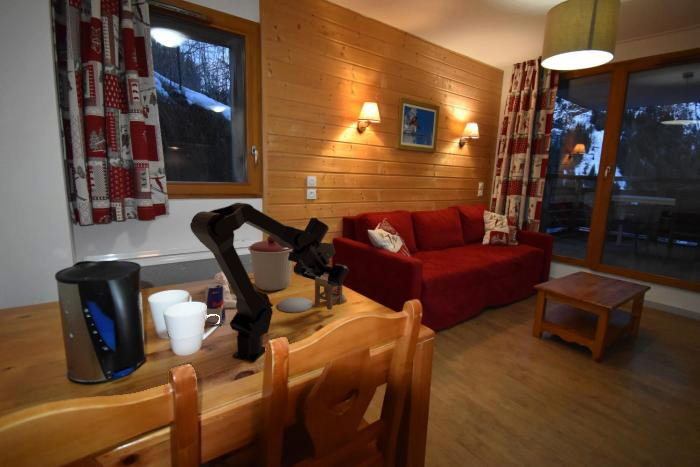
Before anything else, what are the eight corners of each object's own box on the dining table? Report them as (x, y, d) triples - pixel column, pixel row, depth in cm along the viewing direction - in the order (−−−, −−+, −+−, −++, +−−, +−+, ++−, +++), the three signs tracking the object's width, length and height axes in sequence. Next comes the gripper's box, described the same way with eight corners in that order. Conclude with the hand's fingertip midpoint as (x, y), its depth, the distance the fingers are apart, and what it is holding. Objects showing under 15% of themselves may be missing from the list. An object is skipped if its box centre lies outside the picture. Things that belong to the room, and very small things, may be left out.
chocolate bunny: (327, 297, 125) (328, 272, 123) (348, 300, 123) (348, 274, 121) (322, 303, 120) (322, 276, 118) (343, 306, 118) (344, 278, 116)
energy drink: (219, 327, 100) (217, 288, 98) (203, 324, 101) (200, 287, 99) (229, 319, 106) (227, 282, 103) (213, 317, 107) (211, 281, 104)
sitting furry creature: (240, 308, 114) (238, 274, 112) (212, 312, 110) (211, 277, 108) (235, 298, 123) (234, 266, 120) (210, 302, 119) (208, 269, 116)
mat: (304, 314, 110) (303, 313, 110) (271, 309, 113) (271, 308, 113) (318, 301, 121) (318, 300, 121) (288, 297, 125) (288, 295, 125)
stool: (329, 309, 107) (330, 281, 105) (314, 304, 110) (314, 277, 109) (342, 303, 112) (342, 276, 110) (327, 299, 116) (327, 272, 114)
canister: (245, 282, 139) (243, 232, 135) (287, 277, 147) (287, 230, 143) (255, 297, 123) (253, 241, 119) (301, 290, 132) (301, 238, 128)
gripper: (345, 240, 98) (365, 268, 109) (299, 232, 109) (321, 258, 120) (328, 272, 94) (350, 298, 104) (281, 260, 104) (306, 285, 115)
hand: (331, 283), depth 111 cm, fingers closed on stool, 6 cm apart
